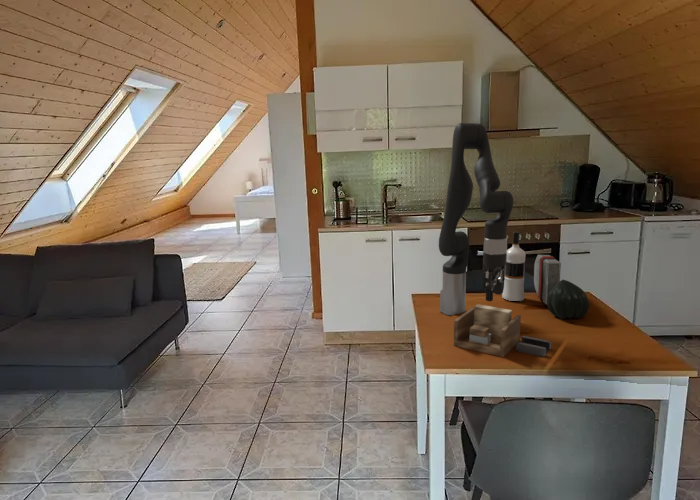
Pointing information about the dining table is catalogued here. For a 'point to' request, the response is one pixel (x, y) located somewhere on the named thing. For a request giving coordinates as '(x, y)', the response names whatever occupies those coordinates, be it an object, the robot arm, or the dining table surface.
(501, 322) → the beige rectangular slab
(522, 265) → the vodka
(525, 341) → the stand
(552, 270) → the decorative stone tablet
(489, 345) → the offcut
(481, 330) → the offcut
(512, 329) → the rack
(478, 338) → the offcut
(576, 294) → the squash
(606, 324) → the dining table surface
